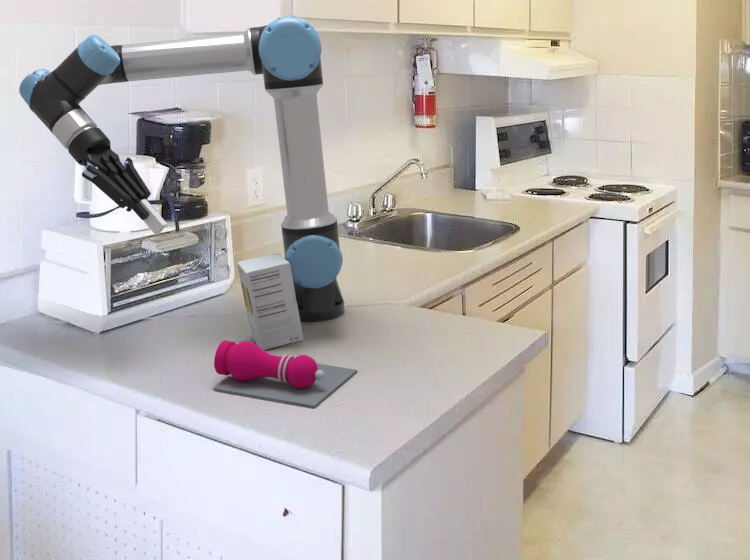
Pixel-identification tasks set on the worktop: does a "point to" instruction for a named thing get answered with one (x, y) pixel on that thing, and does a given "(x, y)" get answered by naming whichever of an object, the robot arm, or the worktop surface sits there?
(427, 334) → the worktop surface
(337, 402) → the worktop surface
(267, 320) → the supplement box
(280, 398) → the slate mat
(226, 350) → the pepper mill
